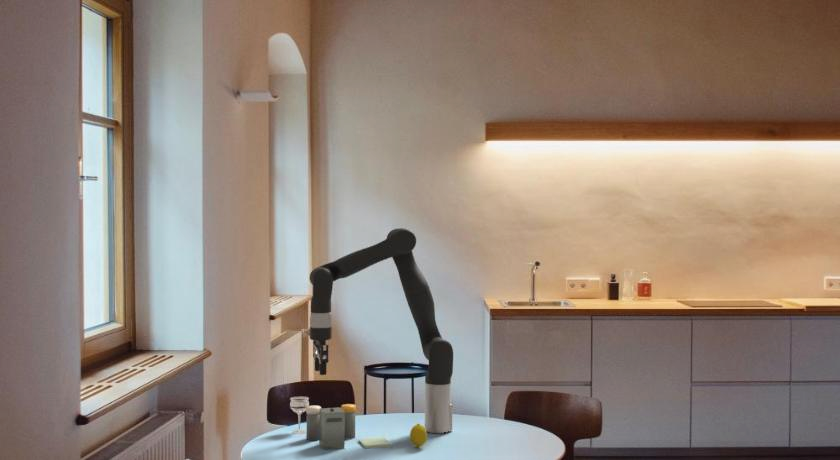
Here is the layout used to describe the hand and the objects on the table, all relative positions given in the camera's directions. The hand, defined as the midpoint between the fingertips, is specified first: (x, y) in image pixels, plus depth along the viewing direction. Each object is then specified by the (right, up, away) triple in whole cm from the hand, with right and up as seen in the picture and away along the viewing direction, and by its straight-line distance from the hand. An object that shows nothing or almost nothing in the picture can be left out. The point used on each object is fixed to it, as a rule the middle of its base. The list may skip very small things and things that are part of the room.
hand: (320, 372), depth 269 cm
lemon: (+34, -23, -10) cm, 42 cm away
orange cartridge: (+9, -23, +3) cm, 25 cm away
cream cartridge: (-2, -23, 0) cm, 23 cm away
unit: (+5, -23, -9) cm, 25 cm away
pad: (+19, -23, -6) cm, 30 cm away
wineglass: (-9, -23, +9) cm, 26 cm away
